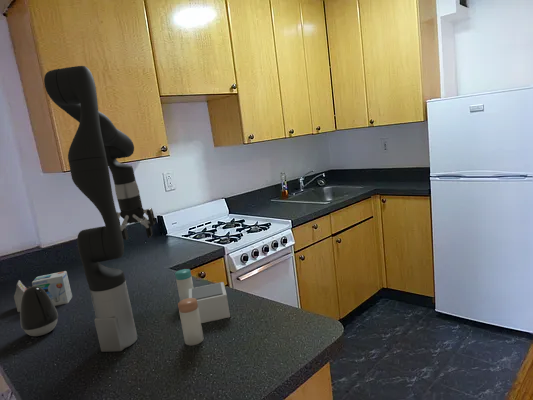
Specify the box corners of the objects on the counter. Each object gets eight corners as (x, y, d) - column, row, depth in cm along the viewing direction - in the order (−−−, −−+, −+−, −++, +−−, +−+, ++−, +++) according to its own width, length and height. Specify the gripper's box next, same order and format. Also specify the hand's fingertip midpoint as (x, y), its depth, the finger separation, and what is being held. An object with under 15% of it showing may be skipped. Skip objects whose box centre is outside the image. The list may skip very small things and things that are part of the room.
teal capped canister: (192, 306, 126) (187, 274, 125) (178, 306, 127) (172, 275, 126) (198, 299, 131) (192, 268, 129) (184, 300, 132) (178, 269, 130)
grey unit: (230, 316, 115) (226, 293, 114) (192, 325, 113) (188, 301, 112) (226, 301, 126) (223, 280, 125) (192, 309, 124) (188, 287, 123)
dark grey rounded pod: (55, 321, 130) (44, 278, 127) (65, 329, 123) (54, 283, 120) (20, 334, 123) (8, 289, 121) (29, 344, 116) (16, 296, 113)
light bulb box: (37, 310, 142) (30, 282, 140) (42, 303, 149) (36, 276, 147) (69, 303, 145) (62, 275, 143) (72, 296, 151) (66, 270, 149)
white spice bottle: (199, 345, 102) (192, 305, 100) (182, 345, 102) (174, 306, 101) (206, 335, 106) (199, 297, 104) (189, 335, 107) (182, 298, 105)
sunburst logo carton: (17, 312, 143) (11, 286, 141) (19, 306, 149) (13, 281, 147) (29, 309, 144) (22, 283, 143) (30, 303, 150) (24, 278, 149)
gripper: (103, 200, 132) (114, 244, 136) (144, 195, 131) (154, 240, 135) (113, 194, 139) (123, 236, 143) (151, 189, 138) (160, 232, 142)
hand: (138, 238), depth 139 cm, fingers open, 8 cm apart
